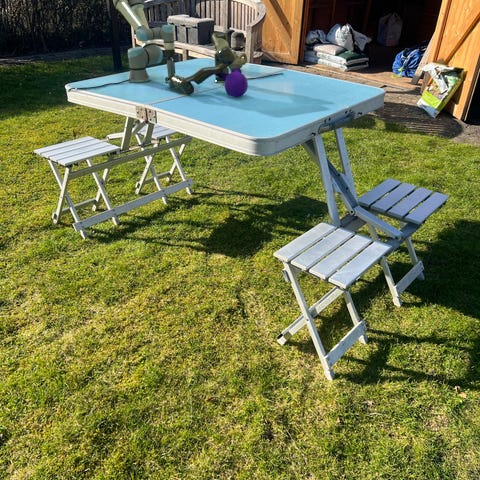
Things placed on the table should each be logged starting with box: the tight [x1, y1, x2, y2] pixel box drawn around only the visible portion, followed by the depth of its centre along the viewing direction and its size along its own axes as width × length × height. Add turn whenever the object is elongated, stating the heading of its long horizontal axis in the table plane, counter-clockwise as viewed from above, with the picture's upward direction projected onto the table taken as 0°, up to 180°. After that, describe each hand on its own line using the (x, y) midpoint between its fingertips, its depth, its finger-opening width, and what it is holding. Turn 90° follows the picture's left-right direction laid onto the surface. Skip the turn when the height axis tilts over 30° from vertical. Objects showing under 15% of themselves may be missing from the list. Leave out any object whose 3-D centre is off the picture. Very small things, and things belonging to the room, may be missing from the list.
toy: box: [213, 68, 249, 99], centre depth 288 cm, size 16×18×27 cm
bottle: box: [166, 59, 177, 89], centre depth 313 cm, size 5×5×18 cm
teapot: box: [228, 50, 248, 71], centre depth 366 cm, size 21×12×15 cm, turn 120°
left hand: (172, 82), depth 332 cm, fingers open, 5 cm apart
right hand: (170, 78), depth 316 cm, fingers closed on bottle, 4 cm apart
